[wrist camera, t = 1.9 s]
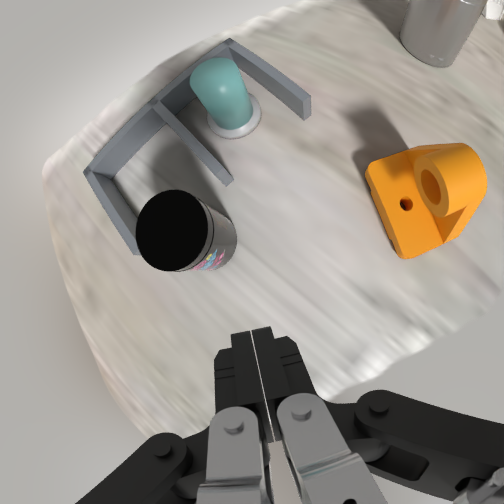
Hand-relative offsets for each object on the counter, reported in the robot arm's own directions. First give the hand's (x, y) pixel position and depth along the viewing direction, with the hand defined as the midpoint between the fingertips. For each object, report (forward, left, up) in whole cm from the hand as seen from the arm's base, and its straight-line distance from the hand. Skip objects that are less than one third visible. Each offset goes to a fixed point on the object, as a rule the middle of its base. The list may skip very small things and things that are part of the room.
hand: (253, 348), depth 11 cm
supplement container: (-3, -10, -21) cm, 24 cm away
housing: (-13, -16, -21) cm, 30 cm away
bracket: (-14, +10, -21) cm, 27 cm away
